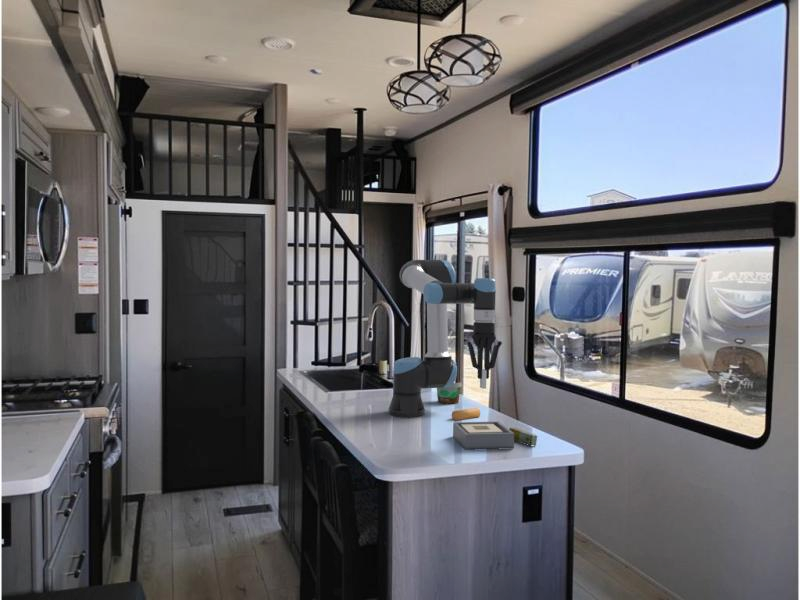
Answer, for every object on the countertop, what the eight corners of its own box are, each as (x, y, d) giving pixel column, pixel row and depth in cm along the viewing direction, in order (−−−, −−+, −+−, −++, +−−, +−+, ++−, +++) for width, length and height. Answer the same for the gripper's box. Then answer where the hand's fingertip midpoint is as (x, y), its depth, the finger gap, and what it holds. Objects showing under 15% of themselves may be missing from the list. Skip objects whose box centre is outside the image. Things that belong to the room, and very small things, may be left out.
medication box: (536, 446, 222) (538, 435, 221) (530, 447, 220) (532, 435, 220) (513, 437, 232) (514, 427, 232) (507, 438, 230) (508, 427, 230)
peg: (459, 417, 255) (481, 413, 262) (454, 409, 257) (477, 405, 264) (454, 423, 257) (477, 419, 264) (450, 414, 260) (472, 411, 266)
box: (452, 437, 231) (453, 422, 231) (498, 436, 234) (498, 421, 233) (465, 450, 214) (465, 434, 214) (513, 449, 217) (514, 433, 217)
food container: (432, 404, 287) (432, 382, 286) (434, 401, 293) (435, 380, 292) (459, 406, 284) (460, 384, 284) (461, 403, 290) (462, 381, 290)
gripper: (469, 322, 221) (468, 390, 222) (505, 322, 223) (504, 389, 224) (463, 320, 228) (462, 386, 229) (498, 320, 231) (497, 385, 231)
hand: (483, 387), depth 227 cm, fingers closed
